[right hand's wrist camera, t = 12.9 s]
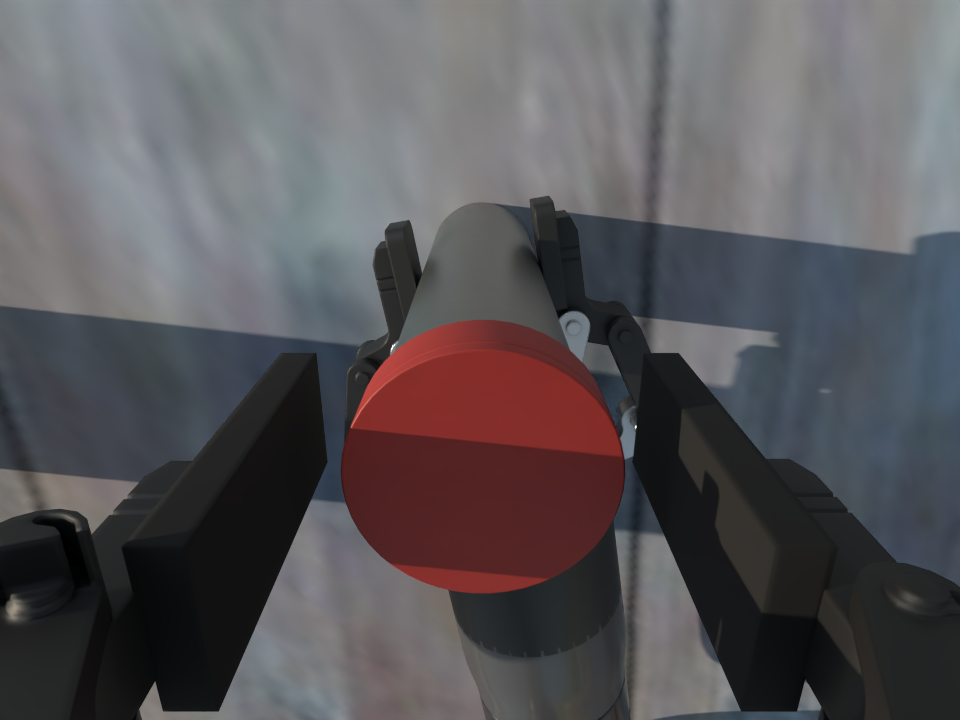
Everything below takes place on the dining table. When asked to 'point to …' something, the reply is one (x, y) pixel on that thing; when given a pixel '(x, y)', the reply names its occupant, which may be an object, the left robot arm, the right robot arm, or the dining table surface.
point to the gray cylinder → (482, 276)
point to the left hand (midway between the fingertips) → (468, 215)
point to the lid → (483, 458)
